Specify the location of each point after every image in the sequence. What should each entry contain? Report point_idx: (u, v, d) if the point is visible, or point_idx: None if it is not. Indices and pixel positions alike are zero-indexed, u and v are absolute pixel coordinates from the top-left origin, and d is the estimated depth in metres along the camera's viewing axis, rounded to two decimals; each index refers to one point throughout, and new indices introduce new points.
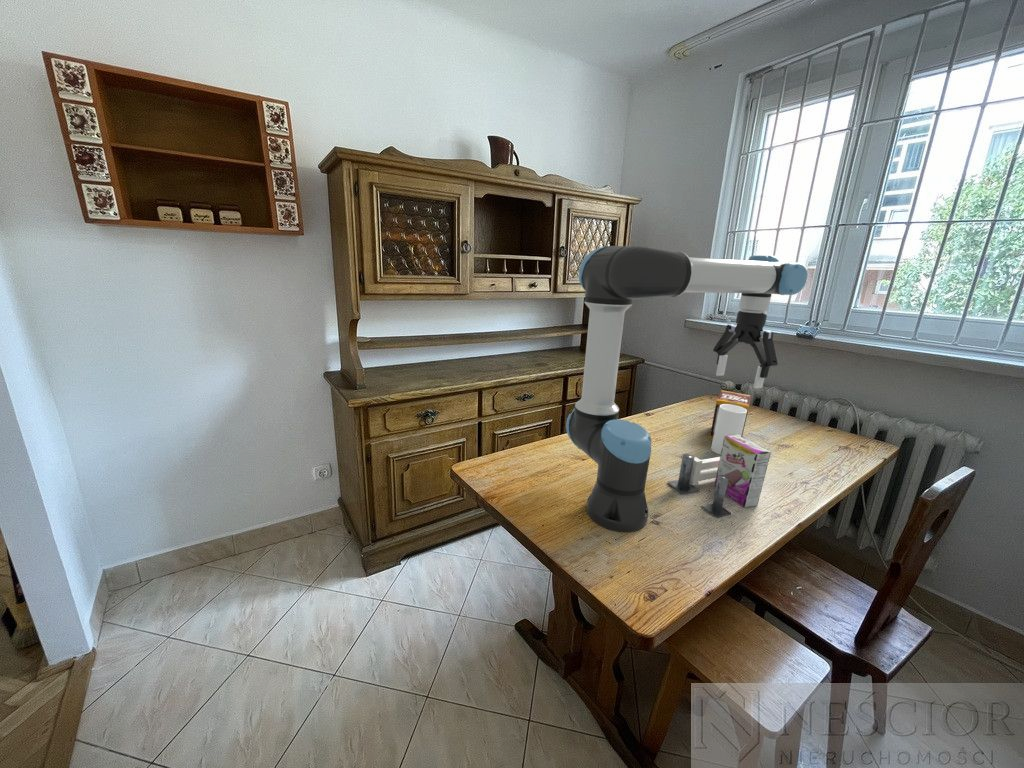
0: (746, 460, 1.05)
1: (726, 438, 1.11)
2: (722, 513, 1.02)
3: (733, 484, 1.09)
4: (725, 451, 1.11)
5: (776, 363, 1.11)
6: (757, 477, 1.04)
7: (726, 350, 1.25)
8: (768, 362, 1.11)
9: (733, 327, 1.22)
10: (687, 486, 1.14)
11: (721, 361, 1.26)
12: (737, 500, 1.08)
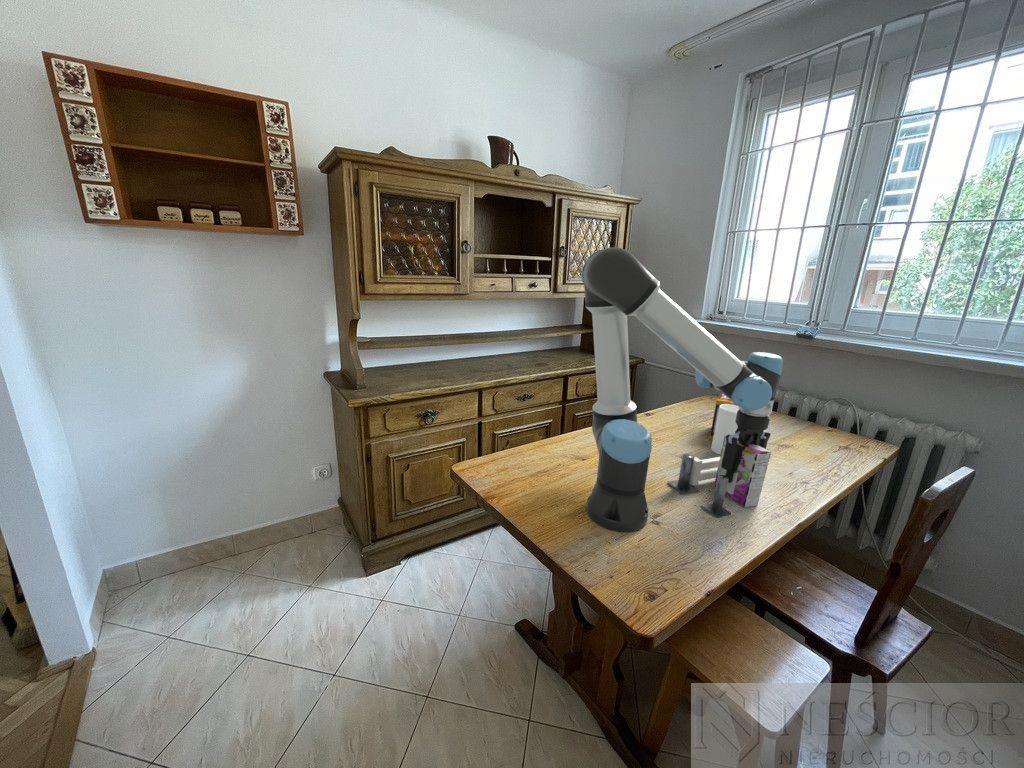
0: (746, 460, 1.05)
1: None
2: (722, 513, 1.02)
3: None
4: None
5: (727, 469, 1.06)
6: (757, 477, 1.04)
7: None
8: None
9: None
10: (687, 486, 1.14)
11: None
12: (737, 500, 1.08)
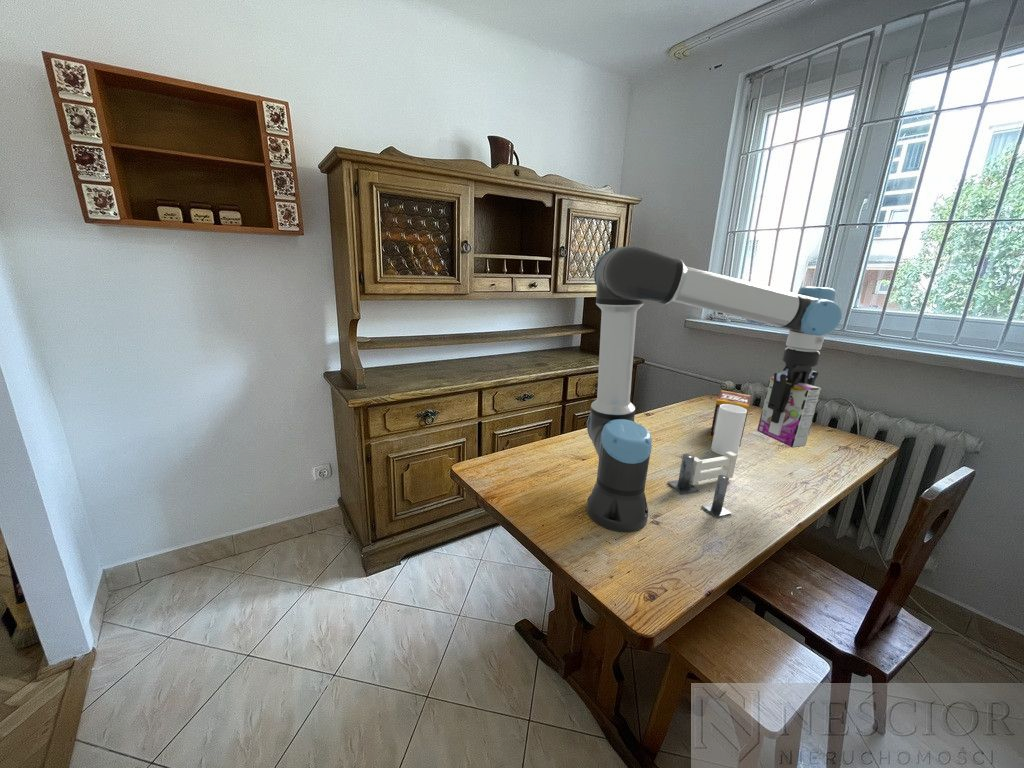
0: (795, 398, 1.03)
1: (772, 379, 1.09)
2: (722, 513, 1.02)
3: None
4: None
5: (774, 408, 1.04)
6: (806, 414, 1.02)
7: None
8: None
9: None
10: (687, 486, 1.14)
11: None
12: (784, 441, 1.06)
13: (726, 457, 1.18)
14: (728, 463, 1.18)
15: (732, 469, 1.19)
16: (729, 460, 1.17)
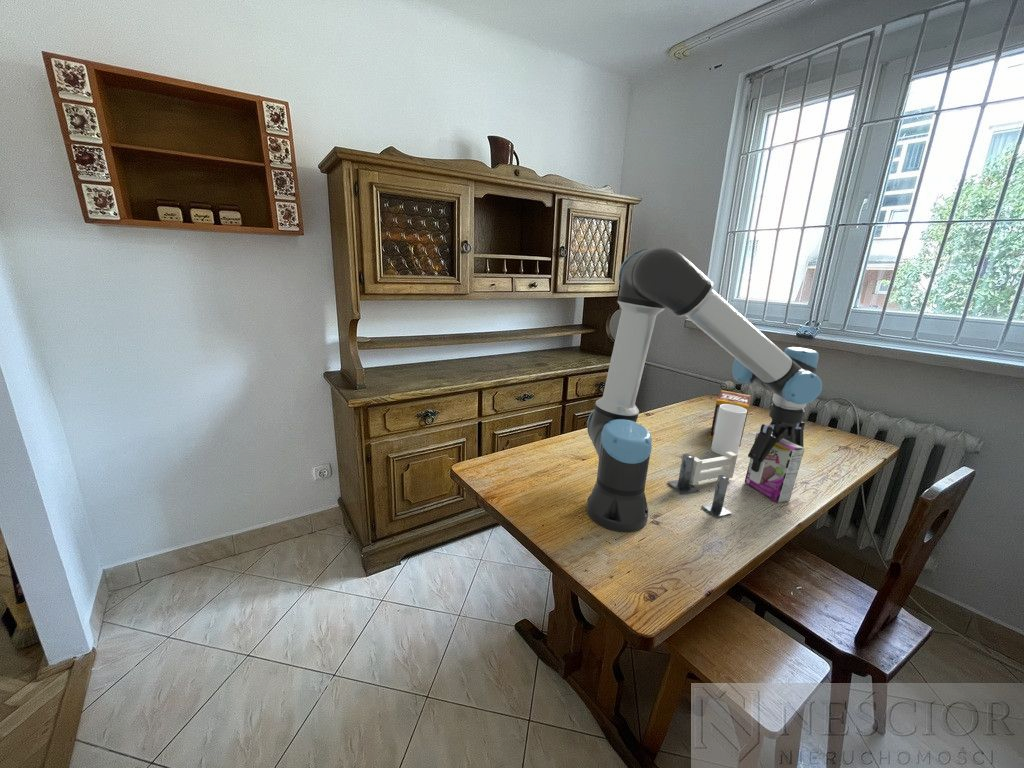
0: (780, 457, 1.07)
1: None
2: (722, 513, 1.02)
3: (766, 480, 1.12)
4: None
5: (754, 458, 1.07)
6: (791, 472, 1.07)
7: None
8: None
9: None
10: (687, 486, 1.14)
11: None
12: (769, 496, 1.11)
13: (726, 457, 1.18)
14: (728, 463, 1.18)
15: (732, 469, 1.19)
16: (729, 460, 1.17)
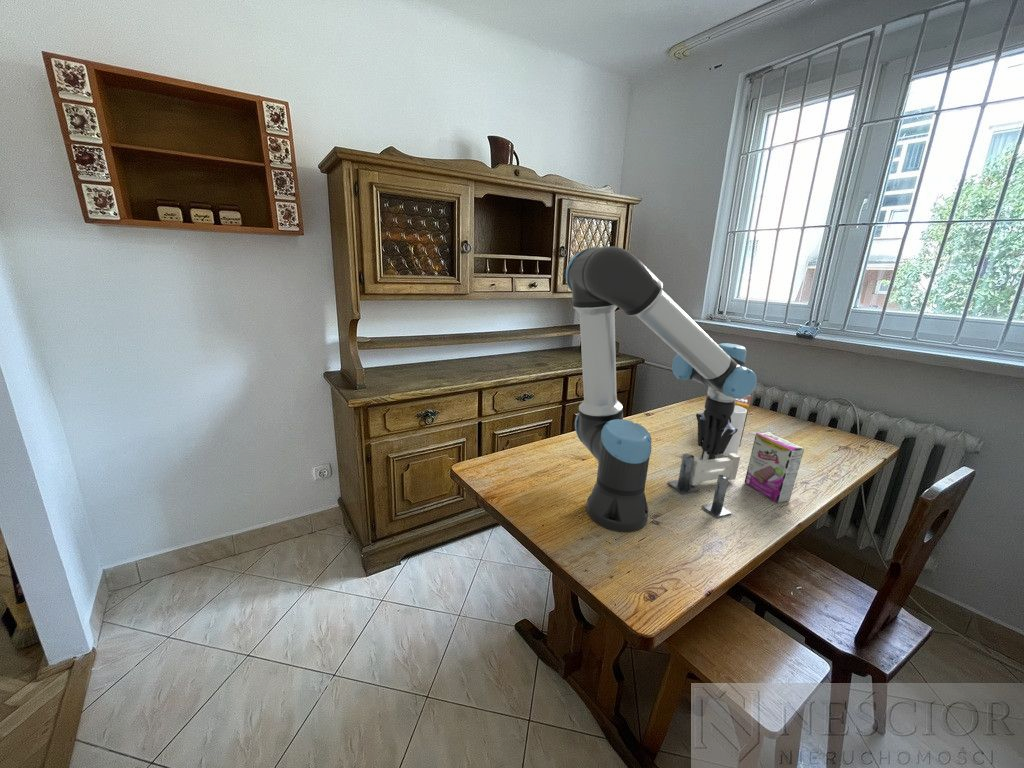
0: (779, 457, 1.07)
1: (758, 435, 1.13)
2: (722, 513, 1.02)
3: (766, 481, 1.12)
4: (757, 448, 1.14)
5: None
6: (790, 473, 1.07)
7: None
8: None
9: None
10: (687, 486, 1.14)
11: None
12: (769, 496, 1.11)
13: (728, 458, 1.17)
14: (730, 464, 1.17)
15: (735, 471, 1.18)
16: (731, 461, 1.17)
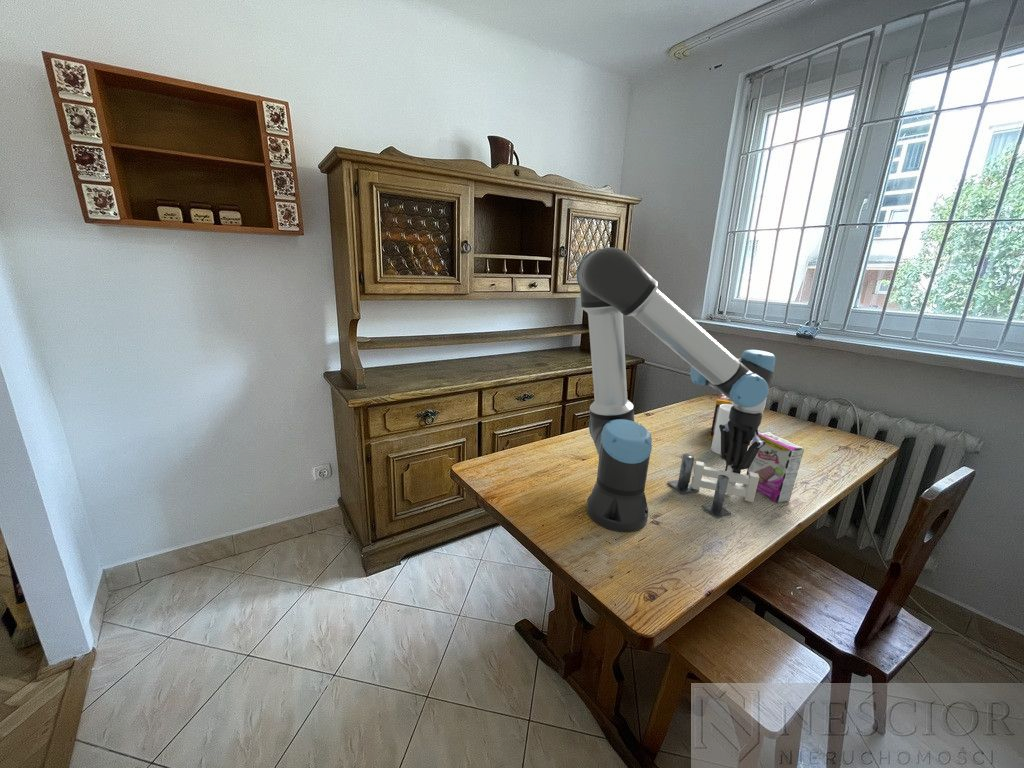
0: (779, 457, 1.07)
1: (758, 435, 1.13)
2: (722, 513, 1.02)
3: (766, 480, 1.12)
4: None
5: None
6: (790, 472, 1.07)
7: None
8: None
9: None
10: (687, 486, 1.14)
11: None
12: (769, 496, 1.11)
13: (746, 476, 1.07)
14: (746, 483, 1.07)
15: (752, 492, 1.07)
16: (747, 480, 1.07)
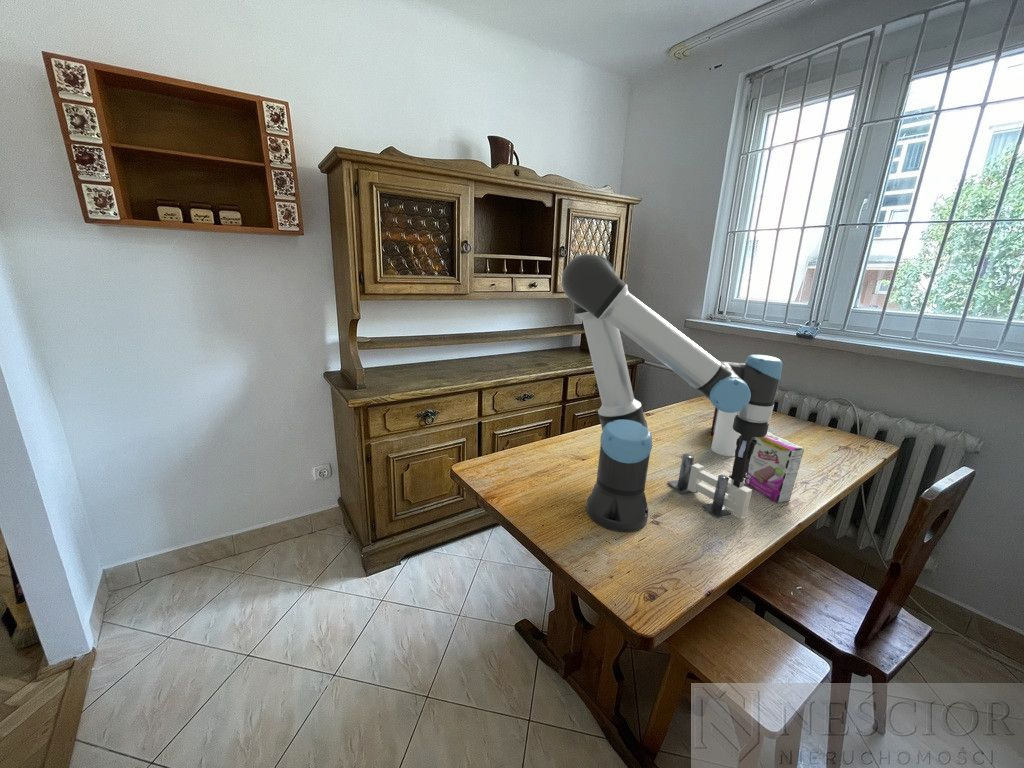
0: (779, 457, 1.07)
1: None
2: (722, 513, 1.02)
3: (766, 481, 1.12)
4: (757, 448, 1.14)
5: None
6: (790, 473, 1.07)
7: None
8: (747, 469, 1.05)
9: (744, 448, 0.97)
10: (687, 486, 1.14)
11: None
12: (769, 496, 1.11)
13: (737, 489, 1.01)
14: (735, 496, 1.01)
15: (740, 507, 1.00)
16: (736, 492, 1.00)
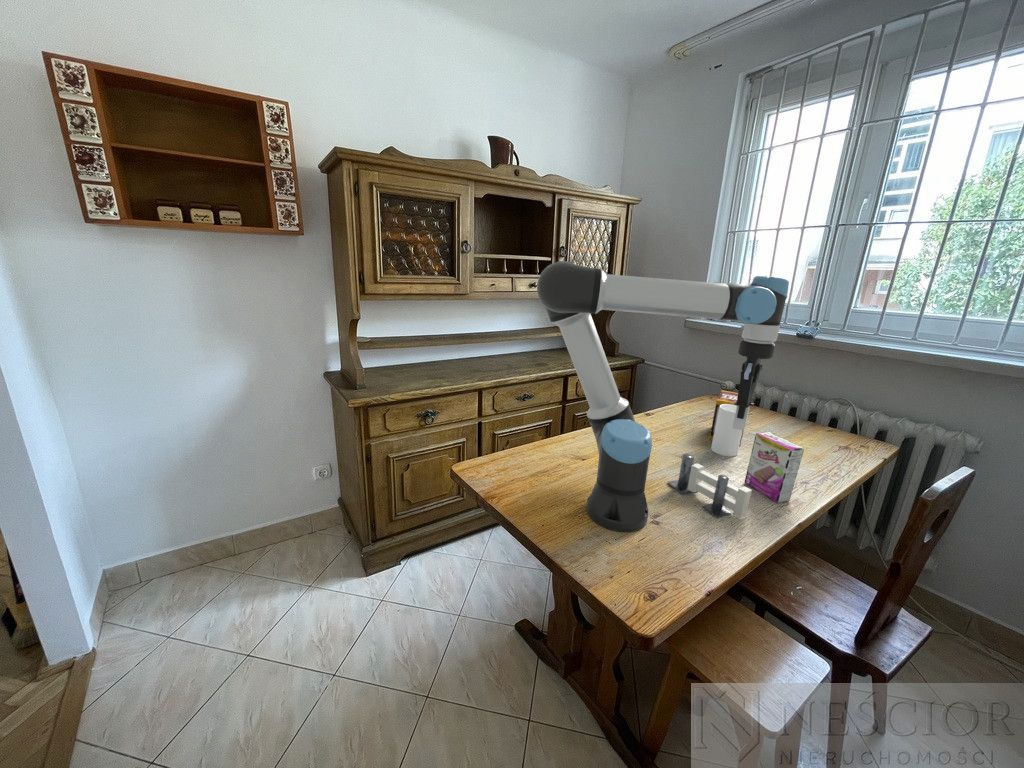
0: (779, 457, 1.07)
1: (758, 435, 1.13)
2: (722, 513, 1.02)
3: (766, 480, 1.12)
4: (757, 448, 1.14)
5: None
6: (790, 473, 1.07)
7: None
8: (752, 397, 1.05)
9: (750, 370, 0.97)
10: (687, 486, 1.14)
11: None
12: (769, 496, 1.11)
13: (737, 489, 1.01)
14: (735, 496, 1.01)
15: (739, 507, 1.00)
16: (736, 493, 1.00)
